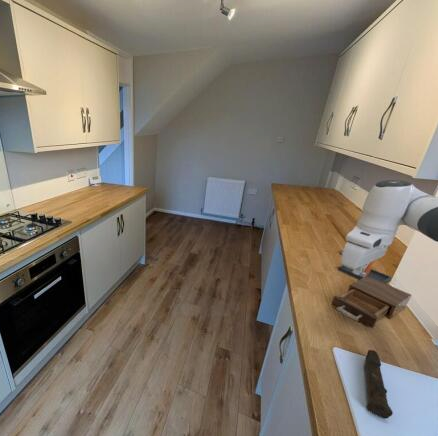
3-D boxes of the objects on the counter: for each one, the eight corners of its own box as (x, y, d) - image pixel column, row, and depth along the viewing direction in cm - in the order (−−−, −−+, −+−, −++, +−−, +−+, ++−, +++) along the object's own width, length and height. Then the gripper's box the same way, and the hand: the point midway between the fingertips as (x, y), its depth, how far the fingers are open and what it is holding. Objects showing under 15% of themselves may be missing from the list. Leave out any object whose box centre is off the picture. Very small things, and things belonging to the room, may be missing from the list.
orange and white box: (369, 274, 109) (375, 258, 106) (363, 277, 106) (369, 261, 103) (361, 271, 111) (367, 255, 108) (355, 274, 108) (361, 258, 105)
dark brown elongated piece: (388, 423, 54) (396, 410, 52) (364, 410, 56) (372, 397, 54) (380, 363, 68) (386, 351, 66) (361, 355, 70) (367, 344, 68)
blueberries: (340, 250, 132) (342, 247, 131) (359, 255, 126) (360, 252, 125) (337, 253, 128) (338, 250, 127) (356, 259, 122) (357, 256, 121)
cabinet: (389, 319, 84) (396, 306, 82) (345, 296, 95) (350, 284, 93) (405, 306, 90) (411, 294, 88) (362, 286, 101) (366, 275, 99)
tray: (390, 280, 105) (392, 277, 105) (377, 288, 100) (379, 284, 100) (350, 264, 118) (351, 261, 117) (337, 270, 113) (338, 266, 112)
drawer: (366, 332, 77) (370, 323, 75) (325, 308, 87) (327, 299, 86) (388, 315, 84) (393, 307, 83) (348, 295, 94) (351, 287, 93)
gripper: (376, 225, 78) (361, 261, 83) (343, 235, 69) (329, 275, 74) (402, 232, 73) (384, 270, 78) (369, 244, 64) (352, 286, 69)
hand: (357, 273), depth 76 cm, fingers closed
